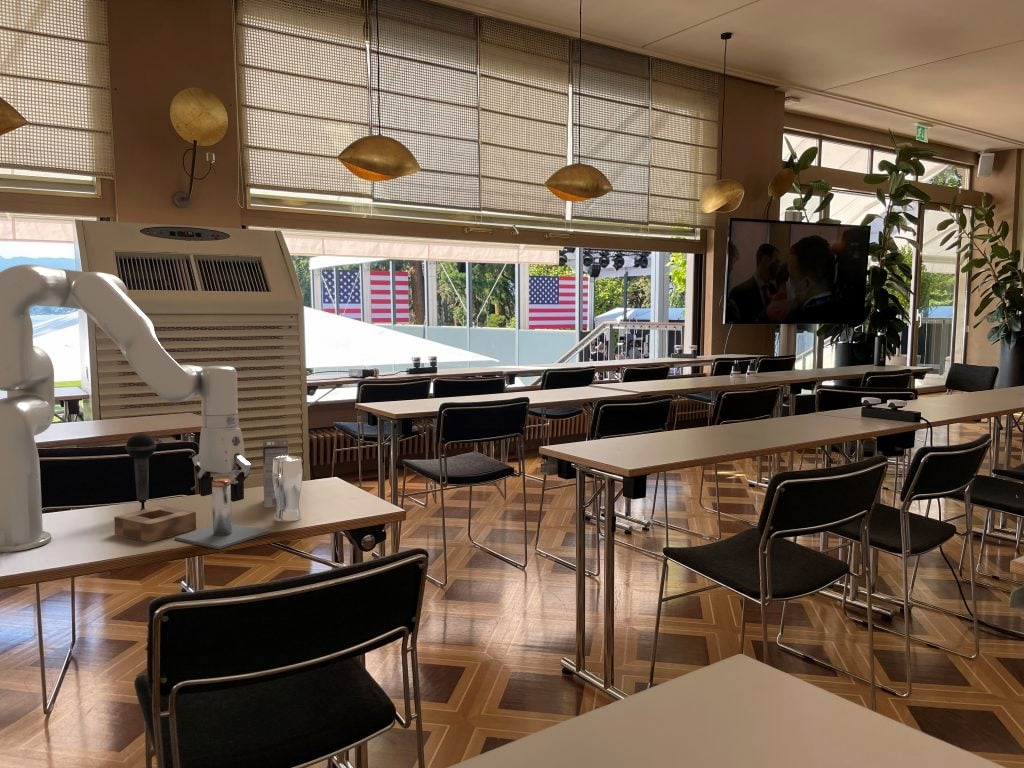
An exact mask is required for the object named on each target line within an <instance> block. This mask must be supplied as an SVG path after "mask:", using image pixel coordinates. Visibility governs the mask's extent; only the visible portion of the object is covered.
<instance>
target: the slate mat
mask: <svg viewBox="0 0 1024 768" xmlns="http://www.w3.org/2000/svg"><path fill="white" fill-rule="evenodd" d="M267 534H270V529H264V528H263V529H262V528H259V527H253V526H249V525H243V524H238V523H233V522H232V534H230V535H226V536H214V535H213V525H211V526H207V527H204V528H201V529H198V530H193V531H189V532H187V533H183V534H179V535H178V536H177V535H175V536H174V540H176V541H180V542H185V543H189V544H193V545H199V546H202V547H207V548H212V549H216V550H222V549H225V548H228V547H231V546H234V545H237V544H240V543H243V542H247V541H249V540H252V539H255V538H258V537H261V536H264V535H267Z"/></svg>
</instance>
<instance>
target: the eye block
mask: <svg viewBox="0 0 1024 768" xmlns="http://www.w3.org/2000/svg"><path fill="white" fill-rule="evenodd" d="M196 516H197V512H196V511H194V510H193V511H192V510H188V509H182V508H176V507H173V506H172V507H171V506H166V505H156V506H153V507H149V508H145V509H144V510H137V511H133V512H129V513H125V514H120V515H116V516H114V519H113V520H114V534H115V535H116V536H117V535H118V536H121V537H126V538H130V539H135V540H139V541H143V542H148V543H152V542H155V541H159V540H163V539H166V538H169V537H173V536H177V535H181V534H182V533H183V534H185V533H186V532H187V533H188V532H191V531H195V530H196V529H197V517H196Z"/></svg>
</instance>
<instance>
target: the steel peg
mask: <svg viewBox="0 0 1024 768" xmlns="http://www.w3.org/2000/svg"><path fill="white" fill-rule="evenodd" d="M231 484H232V481H231V479H230V478H229V479H228V478H218V479H213V481H212V494H211V505H212V506H211V509H212V514H211V515H212V526H213V535H214V536H226V535H230V534H232V523H233V517H232V515H233V514H232V509H233V507H232V501H231V489H230V485H231Z"/></svg>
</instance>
